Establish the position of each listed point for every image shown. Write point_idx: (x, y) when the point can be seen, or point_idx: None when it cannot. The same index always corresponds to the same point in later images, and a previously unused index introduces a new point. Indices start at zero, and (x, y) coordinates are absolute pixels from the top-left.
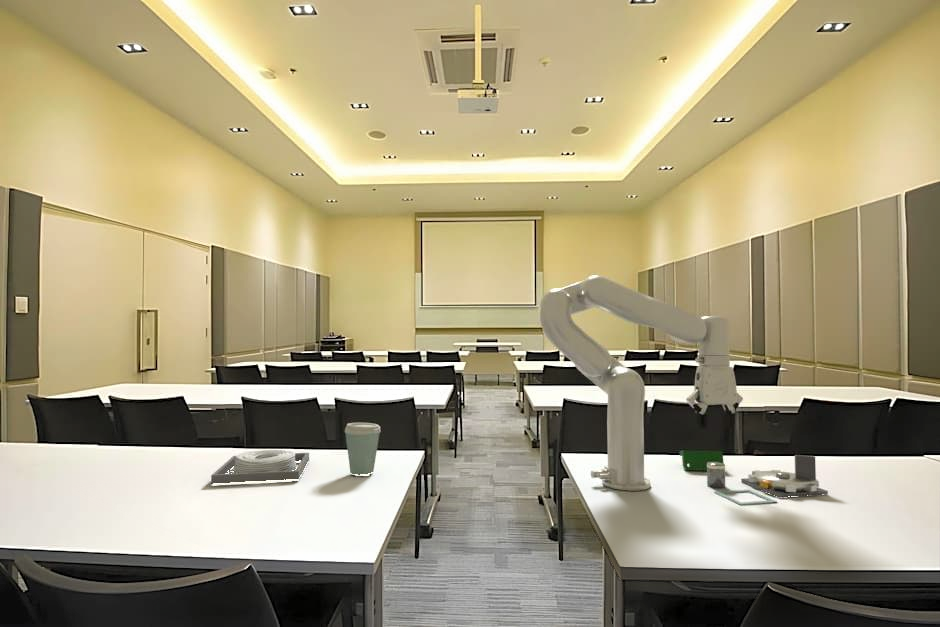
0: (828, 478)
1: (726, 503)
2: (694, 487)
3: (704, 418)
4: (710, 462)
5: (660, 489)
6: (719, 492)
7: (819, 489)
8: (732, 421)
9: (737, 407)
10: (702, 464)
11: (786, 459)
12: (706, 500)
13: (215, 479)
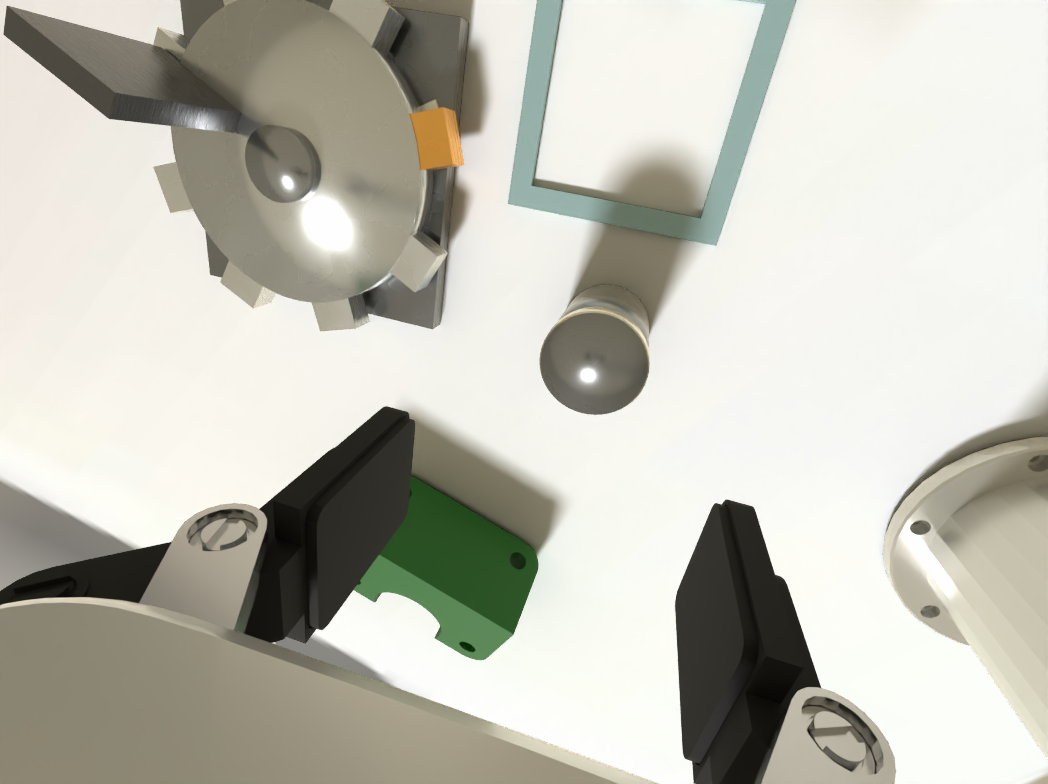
0: (50, 214)
1: (843, 44)
2: (726, 360)
3: (782, 612)
4: (594, 405)
5: (935, 410)
6: (703, 221)
7: (200, 16)
8: (351, 438)
9: (86, 560)
10: (464, 533)
11: (66, 470)
12: (899, 144)
13: None
